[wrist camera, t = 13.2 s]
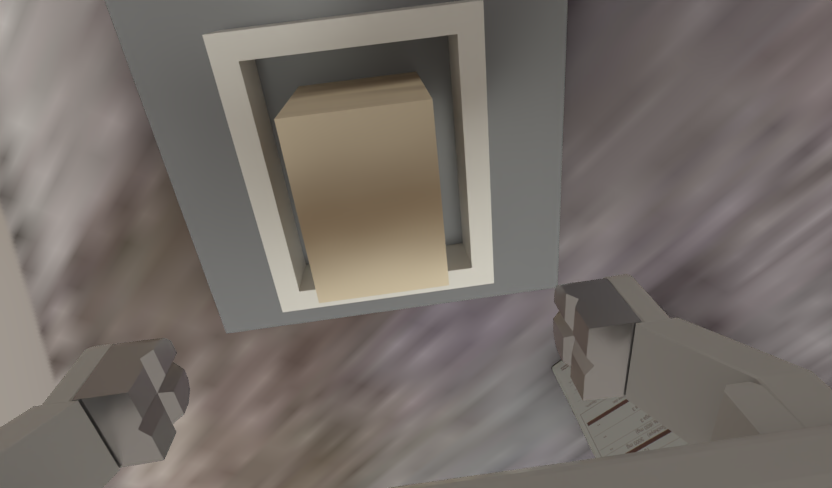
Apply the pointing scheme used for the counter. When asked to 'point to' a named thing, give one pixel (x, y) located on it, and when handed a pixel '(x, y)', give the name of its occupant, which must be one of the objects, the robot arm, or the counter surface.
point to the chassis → (338, 61)
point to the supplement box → (614, 422)
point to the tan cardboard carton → (366, 185)
